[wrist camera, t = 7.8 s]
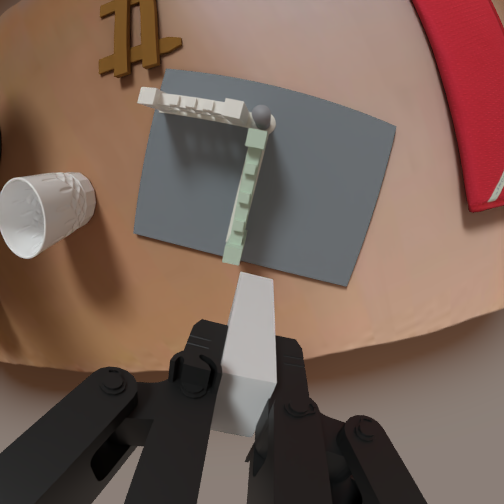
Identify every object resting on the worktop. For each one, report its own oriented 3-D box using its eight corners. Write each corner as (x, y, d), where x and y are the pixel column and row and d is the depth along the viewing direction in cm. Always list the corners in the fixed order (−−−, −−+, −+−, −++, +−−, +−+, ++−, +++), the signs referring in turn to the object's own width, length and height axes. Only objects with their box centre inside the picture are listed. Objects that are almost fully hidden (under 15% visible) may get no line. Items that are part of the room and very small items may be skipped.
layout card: (135, 231, 31) (133, 233, 30) (168, 70, 25) (165, 68, 24) (345, 284, 32) (346, 286, 31) (394, 126, 26) (396, 126, 25)
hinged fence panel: (257, 114, 25) (253, 103, 19) (271, 117, 25) (272, 106, 19) (231, 240, 30) (221, 263, 24) (244, 243, 30) (238, 267, 24)
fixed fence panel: (163, 112, 26) (137, 103, 20) (166, 99, 26) (141, 87, 20) (246, 126, 26) (239, 118, 20) (249, 113, 26) (244, 101, 20)
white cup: (59, 159, 28) (1, 168, 19) (107, 178, 29) (51, 192, 20) (48, 218, 31) (-5, 241, 22) (93, 240, 32) (42, 271, 22)
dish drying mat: (450, -53, 14) (460, -63, 10) (528, 194, 26) (544, 199, 23) (363, -73, 16) (369, -87, 12) (455, 208, 28) (473, 215, 25)
